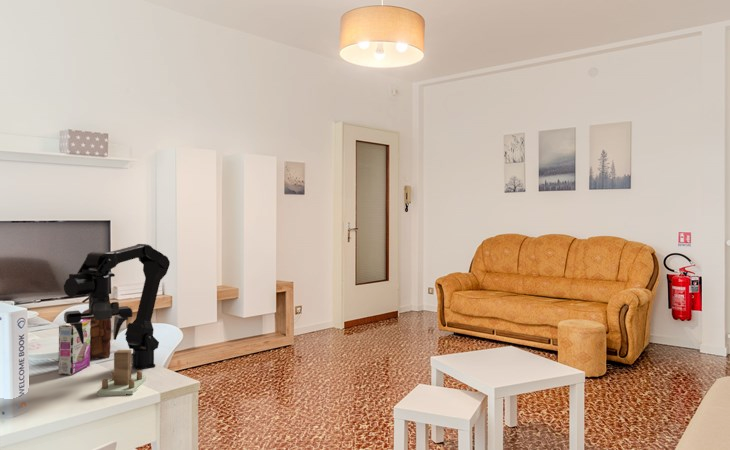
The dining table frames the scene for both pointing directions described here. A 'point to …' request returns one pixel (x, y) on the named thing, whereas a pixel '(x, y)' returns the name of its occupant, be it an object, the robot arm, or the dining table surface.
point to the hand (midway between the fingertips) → (98, 341)
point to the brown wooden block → (122, 367)
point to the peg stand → (110, 389)
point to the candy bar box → (73, 348)
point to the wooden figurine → (99, 337)
